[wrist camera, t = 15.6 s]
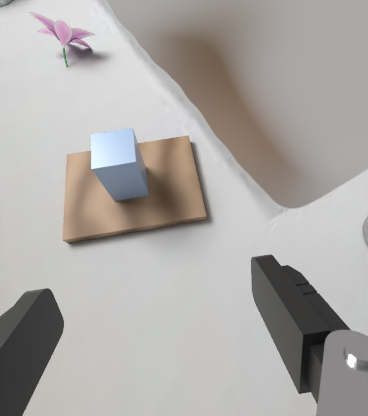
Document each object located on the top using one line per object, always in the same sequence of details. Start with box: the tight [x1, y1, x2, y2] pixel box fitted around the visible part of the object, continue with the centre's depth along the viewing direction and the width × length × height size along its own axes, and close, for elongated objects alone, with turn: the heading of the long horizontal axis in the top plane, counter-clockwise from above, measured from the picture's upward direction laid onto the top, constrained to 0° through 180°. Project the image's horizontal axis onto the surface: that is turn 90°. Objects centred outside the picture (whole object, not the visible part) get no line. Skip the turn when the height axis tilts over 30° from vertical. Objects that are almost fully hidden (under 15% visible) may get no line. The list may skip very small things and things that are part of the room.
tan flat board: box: [63, 136, 206, 243], centre depth 36 cm, size 22×16×8 cm
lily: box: [29, 12, 94, 67], centre depth 52 cm, size 12×12×10 cm
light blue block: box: [91, 128, 149, 201], centre depth 34 cm, size 6×6×9 cm
